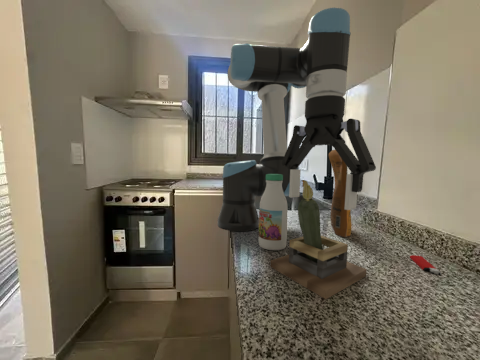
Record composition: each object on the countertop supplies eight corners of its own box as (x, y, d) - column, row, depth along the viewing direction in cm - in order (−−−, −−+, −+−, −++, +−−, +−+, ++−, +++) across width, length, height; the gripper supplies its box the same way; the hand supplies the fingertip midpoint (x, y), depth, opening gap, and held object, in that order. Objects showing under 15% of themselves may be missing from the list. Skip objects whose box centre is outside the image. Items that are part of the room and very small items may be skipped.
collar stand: (270, 266, 50) (271, 238, 50) (310, 252, 58) (311, 228, 58) (325, 299, 39) (327, 263, 38) (366, 276, 47) (368, 245, 46)
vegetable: (327, 276, 46) (318, 181, 43) (305, 276, 47) (294, 184, 44) (323, 264, 50) (314, 177, 47) (303, 264, 51) (293, 179, 48)
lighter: (423, 256, 55) (442, 271, 48) (423, 261, 55) (441, 277, 48) (410, 254, 56) (426, 269, 48) (409, 259, 56) (425, 275, 48)
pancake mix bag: (331, 238, 69) (336, 146, 67) (324, 221, 88) (328, 149, 85) (355, 240, 67) (361, 146, 65) (343, 223, 86) (347, 149, 83)
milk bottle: (269, 238, 68) (271, 172, 66) (291, 246, 63) (294, 174, 61) (252, 245, 63) (254, 173, 61) (275, 253, 57) (277, 175, 55)
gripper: (268, 106, 53) (266, 194, 55) (384, 77, 33) (372, 219, 35) (290, 110, 57) (287, 192, 60) (405, 87, 37) (393, 212, 39)
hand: (319, 202), depth 47 cm, fingers open, 13 cm apart
